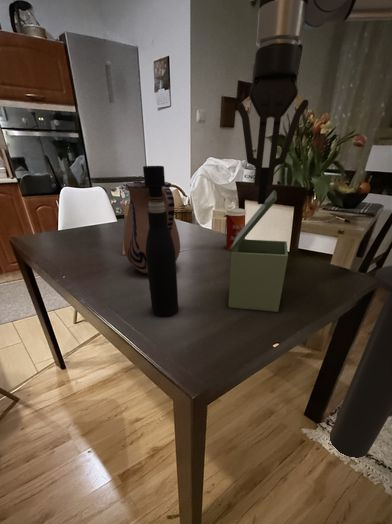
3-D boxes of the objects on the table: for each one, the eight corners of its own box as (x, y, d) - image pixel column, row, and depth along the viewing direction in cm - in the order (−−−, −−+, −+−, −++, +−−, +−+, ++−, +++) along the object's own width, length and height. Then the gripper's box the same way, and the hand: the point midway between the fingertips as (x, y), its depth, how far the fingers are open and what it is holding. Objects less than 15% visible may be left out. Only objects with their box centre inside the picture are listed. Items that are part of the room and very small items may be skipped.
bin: (278, 292, 78) (286, 241, 70) (278, 312, 68) (288, 255, 61) (233, 288, 80) (237, 239, 72) (228, 307, 71) (231, 252, 63)
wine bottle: (167, 319, 66) (155, 167, 49) (146, 312, 69) (128, 166, 51) (183, 308, 70) (177, 165, 53) (163, 302, 73) (151, 165, 56)
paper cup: (234, 252, 107) (237, 212, 99) (219, 248, 112) (221, 209, 104) (247, 248, 112) (251, 209, 104) (232, 244, 116) (235, 207, 108)
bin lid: (276, 192, 64) (274, 189, 64) (276, 199, 55) (273, 196, 55) (238, 238, 72) (236, 236, 72) (233, 251, 63) (230, 249, 63)
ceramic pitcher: (157, 257, 103) (150, 178, 89) (200, 271, 91) (199, 182, 77) (117, 270, 93) (101, 183, 78) (159, 287, 81) (149, 188, 67)
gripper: (316, 50, 49) (291, 201, 63) (241, 56, 52) (233, 200, 65) (322, 37, 43) (293, 206, 57) (237, 44, 46) (229, 205, 59)
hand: (261, 203), depth 61 cm, fingers closed
